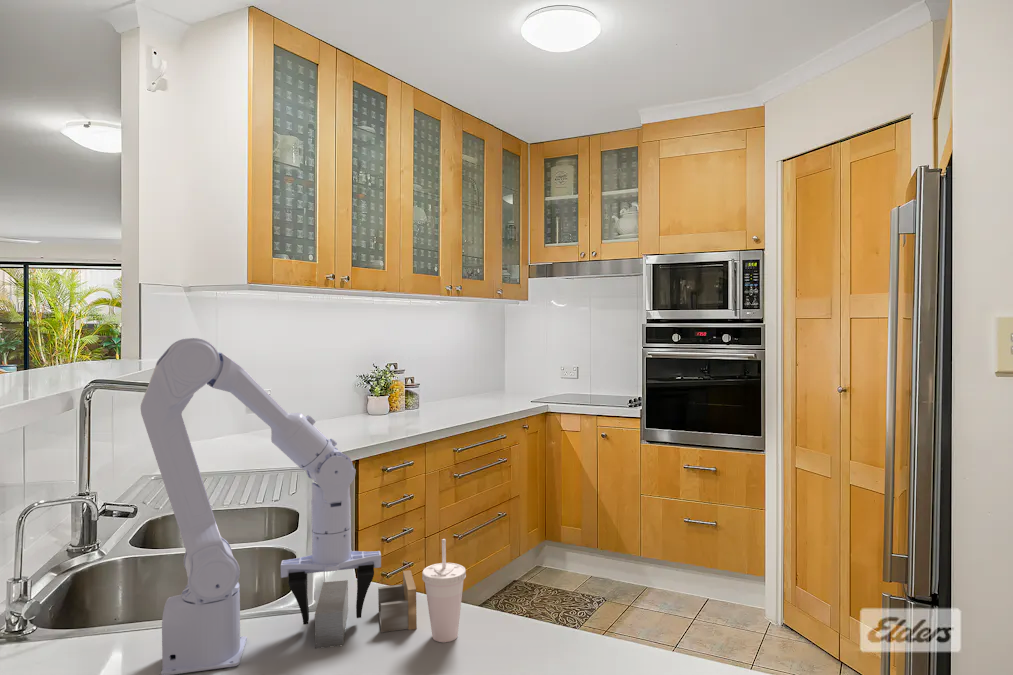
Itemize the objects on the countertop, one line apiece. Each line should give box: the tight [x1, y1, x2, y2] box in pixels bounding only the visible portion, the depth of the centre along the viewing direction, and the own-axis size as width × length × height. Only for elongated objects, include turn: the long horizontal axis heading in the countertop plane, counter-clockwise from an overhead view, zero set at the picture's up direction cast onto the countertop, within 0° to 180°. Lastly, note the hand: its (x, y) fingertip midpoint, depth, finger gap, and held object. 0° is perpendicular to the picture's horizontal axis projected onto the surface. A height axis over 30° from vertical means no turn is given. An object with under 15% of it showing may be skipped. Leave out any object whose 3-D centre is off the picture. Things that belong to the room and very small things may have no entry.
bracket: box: [377, 569, 418, 633], centre depth 98 cm, size 5×8×6 cm, turn 15°
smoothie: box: [421, 538, 467, 643], centre depth 92 cm, size 6×6×14 cm
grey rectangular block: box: [314, 579, 349, 649], centre depth 96 cm, size 12×4×5 cm, turn 11°
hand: (332, 618), depth 96 cm, fingers open, 7 cm apart
